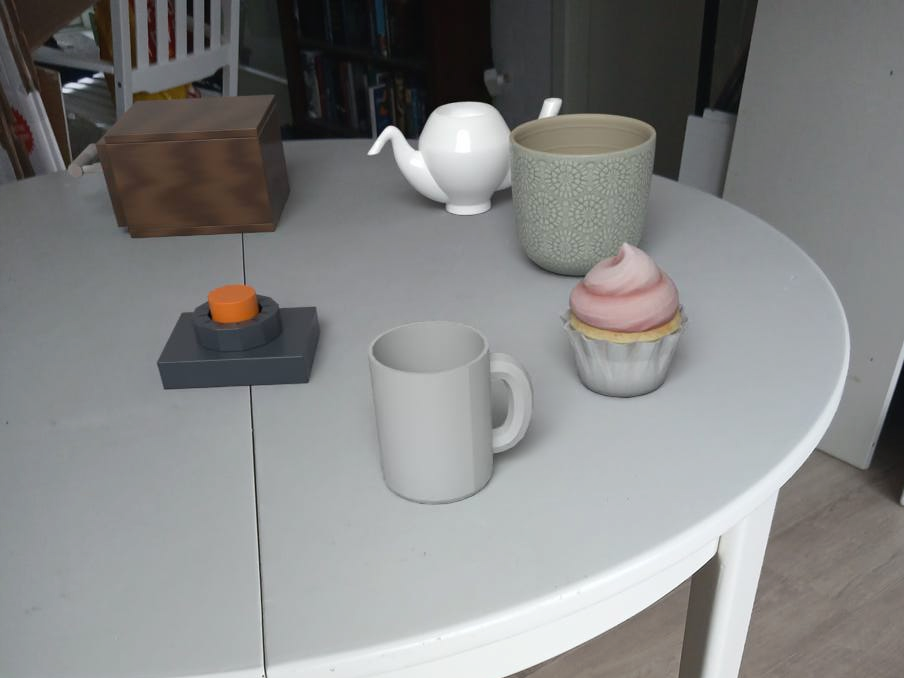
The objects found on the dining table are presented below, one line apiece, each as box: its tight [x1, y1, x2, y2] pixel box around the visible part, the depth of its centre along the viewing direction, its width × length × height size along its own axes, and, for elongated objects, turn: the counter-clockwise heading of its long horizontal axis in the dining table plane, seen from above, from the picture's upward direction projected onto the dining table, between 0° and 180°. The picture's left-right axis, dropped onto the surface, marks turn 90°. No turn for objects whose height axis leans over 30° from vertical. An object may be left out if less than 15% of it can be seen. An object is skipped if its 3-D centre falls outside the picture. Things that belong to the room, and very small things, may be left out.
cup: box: [367, 320, 534, 505], centre depth 61 cm, size 7×10×9 cm
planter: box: [509, 113, 657, 277], centre depth 87 cm, size 12×12×11 cm
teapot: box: [366, 97, 563, 216], centre depth 99 cm, size 10×20×9 cm, turn 105°
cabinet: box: [103, 94, 291, 239], centre depth 101 cm, size 15×13×10 cm
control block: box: [156, 293, 321, 390], centre depth 77 cm, size 11×9×4 cm
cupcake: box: [558, 242, 692, 398], centre depth 70 cm, size 9×9×10 cm
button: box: [207, 284, 259, 323], centre depth 75 cm, size 4×4×2 cm
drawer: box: [67, 135, 128, 228], centre depth 101 cm, size 18×11×8 cm, turn 91°
